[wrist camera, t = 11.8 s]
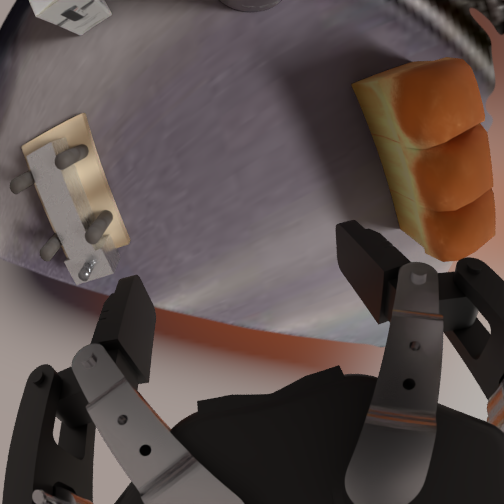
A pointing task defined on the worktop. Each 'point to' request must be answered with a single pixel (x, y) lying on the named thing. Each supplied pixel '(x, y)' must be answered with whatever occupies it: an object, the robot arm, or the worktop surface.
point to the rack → (91, 179)
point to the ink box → (72, 13)
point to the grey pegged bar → (71, 215)
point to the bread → (433, 153)
